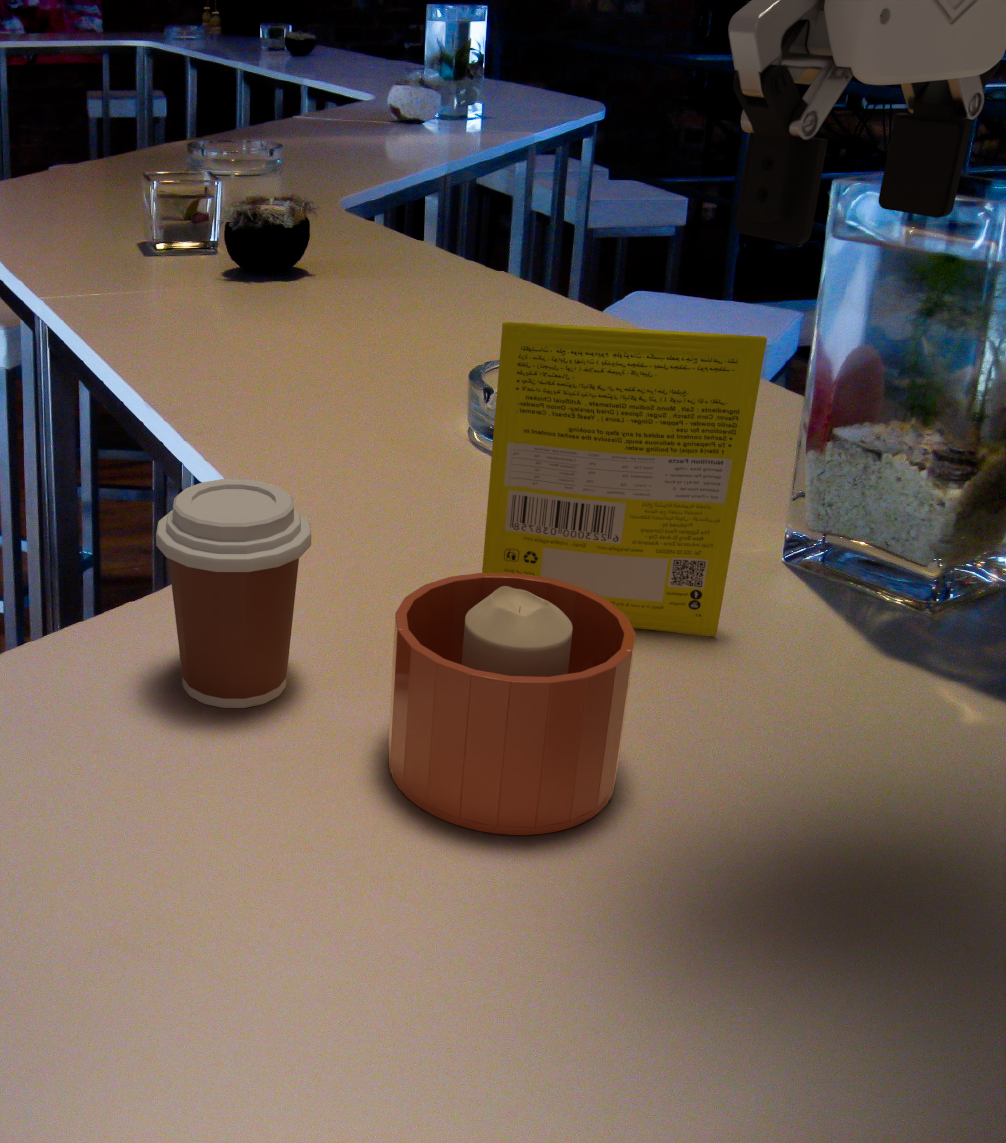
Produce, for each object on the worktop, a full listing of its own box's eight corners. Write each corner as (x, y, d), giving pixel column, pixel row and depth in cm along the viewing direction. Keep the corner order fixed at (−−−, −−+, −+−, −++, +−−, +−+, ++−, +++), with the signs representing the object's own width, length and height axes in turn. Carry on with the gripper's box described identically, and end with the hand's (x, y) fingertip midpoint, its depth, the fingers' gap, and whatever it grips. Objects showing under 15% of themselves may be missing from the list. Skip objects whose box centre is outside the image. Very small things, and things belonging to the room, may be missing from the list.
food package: (715, 632, 88) (766, 334, 79) (716, 641, 87) (768, 339, 78) (479, 609, 91) (503, 319, 82) (478, 616, 90) (502, 324, 81)
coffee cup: (295, 728, 77) (298, 538, 72) (142, 711, 79) (135, 524, 74) (319, 653, 85) (323, 477, 80) (180, 639, 87) (176, 466, 82)
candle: (576, 760, 73) (596, 596, 69) (518, 802, 70) (536, 632, 65) (492, 722, 77) (507, 565, 72) (434, 760, 73) (445, 597, 69)
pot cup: (504, 689, 81) (517, 554, 77) (662, 785, 72) (686, 638, 68) (344, 750, 75) (349, 608, 71) (494, 864, 66) (509, 707, 62)
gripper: (887, -280, 42) (792, 267, 49) (1160, -245, 50) (1044, 217, 58) (694, -254, 47) (634, 233, 55) (969, -226, 56) (886, 192, 63)
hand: (845, 224), depth 56 cm, fingers open, 9 cm apart
